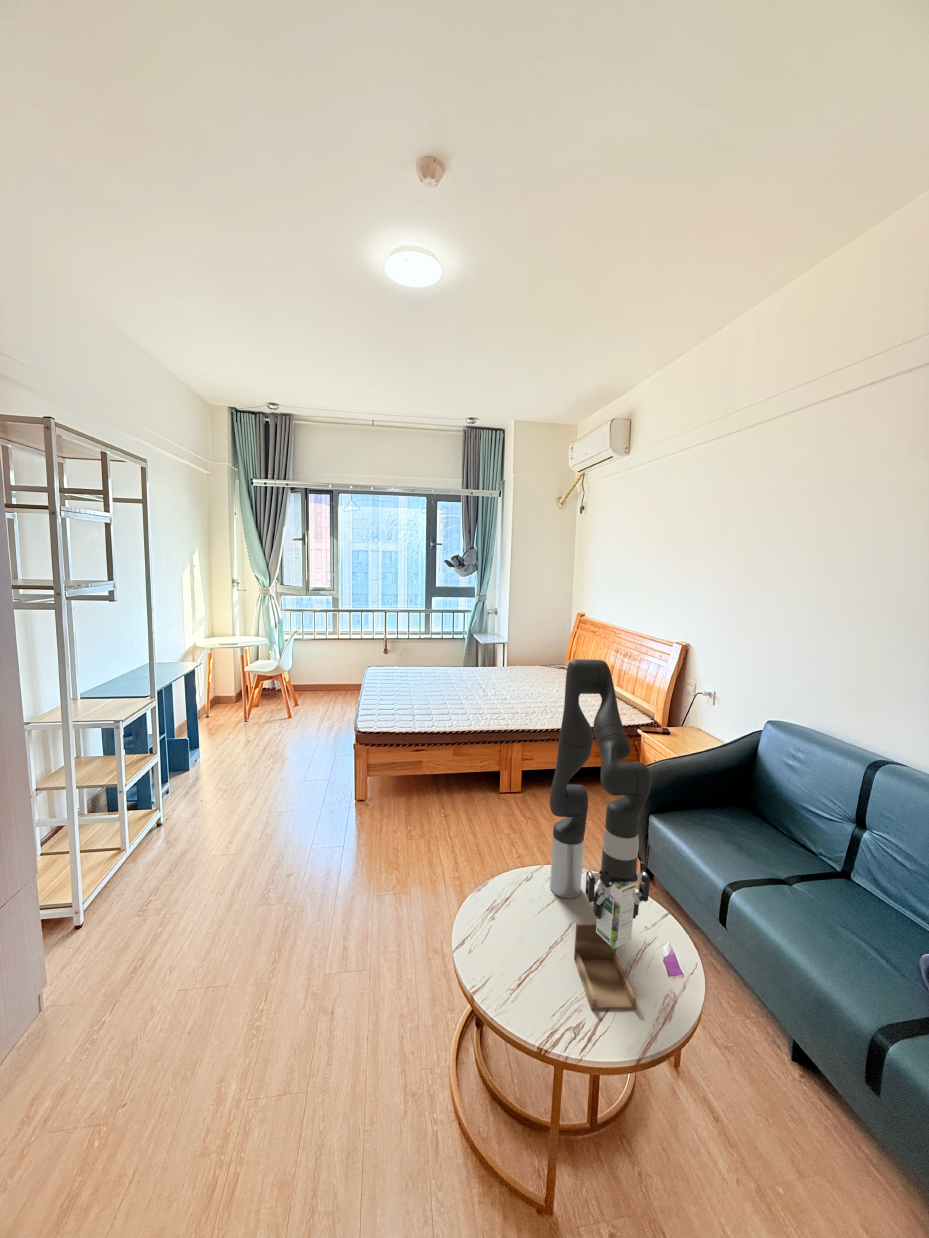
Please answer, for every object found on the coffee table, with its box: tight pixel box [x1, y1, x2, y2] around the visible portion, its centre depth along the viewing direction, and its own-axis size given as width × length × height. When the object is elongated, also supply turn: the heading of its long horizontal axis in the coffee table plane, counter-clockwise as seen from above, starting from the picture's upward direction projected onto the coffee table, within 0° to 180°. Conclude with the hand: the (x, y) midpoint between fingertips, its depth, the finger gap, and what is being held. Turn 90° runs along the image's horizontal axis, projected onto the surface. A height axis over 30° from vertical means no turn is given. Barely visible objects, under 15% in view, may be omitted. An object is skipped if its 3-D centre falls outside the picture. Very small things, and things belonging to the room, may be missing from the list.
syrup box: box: [596, 879, 637, 949], centre depth 110 cm, size 6×6×14 cm
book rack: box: [573, 921, 637, 1011], centre depth 116 cm, size 14×10×10 cm
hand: (615, 916), depth 110 cm, fingers closed on syrup box, 7 cm apart
